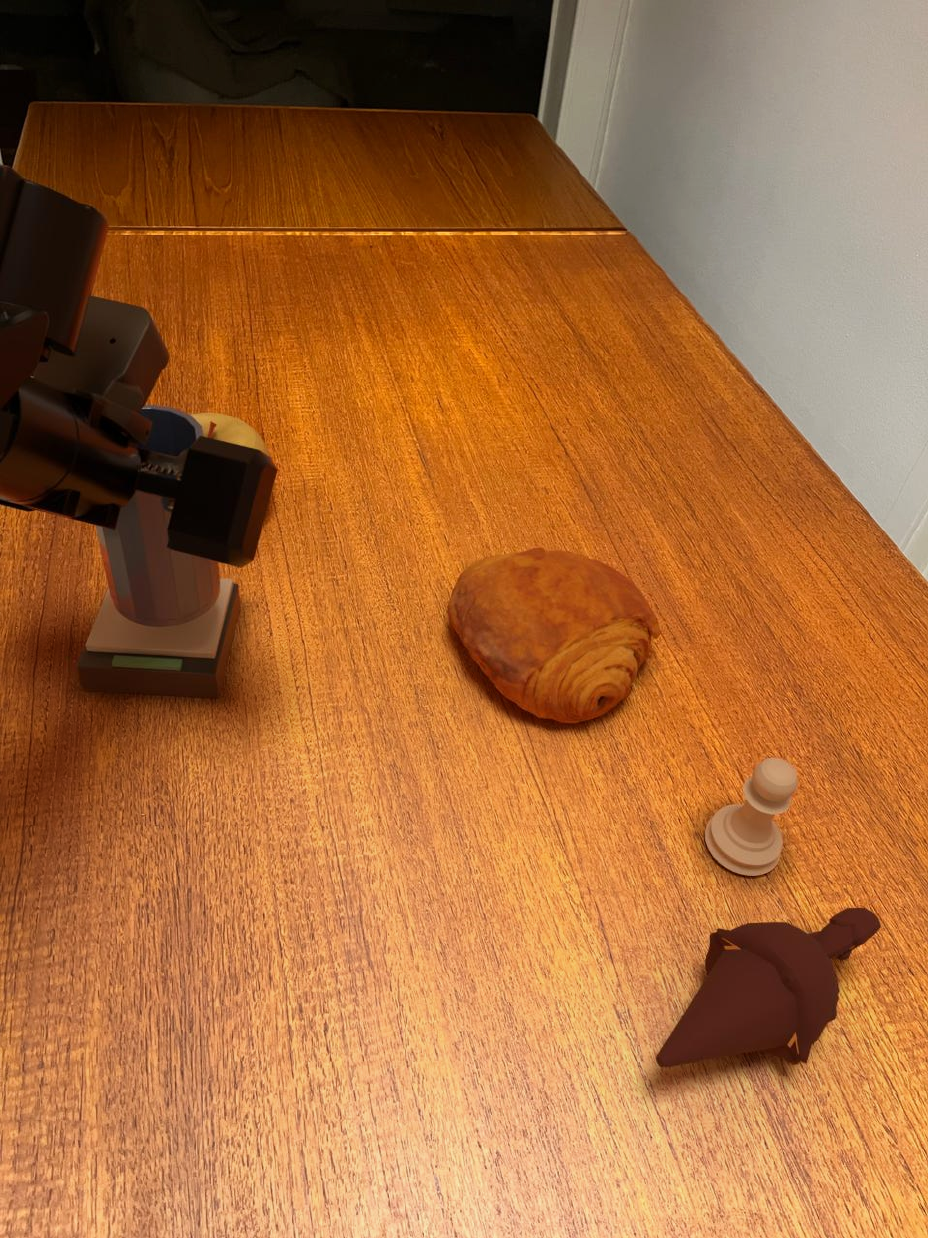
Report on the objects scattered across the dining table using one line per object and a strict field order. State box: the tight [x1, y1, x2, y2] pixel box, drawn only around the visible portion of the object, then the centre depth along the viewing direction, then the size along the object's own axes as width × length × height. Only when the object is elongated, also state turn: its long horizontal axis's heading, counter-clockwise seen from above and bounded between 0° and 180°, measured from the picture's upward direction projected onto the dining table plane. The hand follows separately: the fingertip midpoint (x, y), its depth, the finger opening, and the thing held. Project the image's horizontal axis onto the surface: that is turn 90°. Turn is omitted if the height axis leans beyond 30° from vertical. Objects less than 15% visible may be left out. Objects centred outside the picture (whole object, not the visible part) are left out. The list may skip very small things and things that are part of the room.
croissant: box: [446, 547, 661, 724], centre depth 69 cm, size 14×16×8 cm
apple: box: [188, 412, 273, 460], centre depth 77 cm, size 10×10×8 cm
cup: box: [94, 404, 221, 627], centre depth 60 cm, size 7×7×12 cm
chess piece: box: [704, 757, 799, 877], centre depth 58 cm, size 5×5×8 cm
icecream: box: [655, 907, 882, 1069], centre depth 50 cm, size 7×7×15 cm
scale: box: [76, 577, 242, 699], centre depth 67 cm, size 9×9×3 cm
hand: (164, 498), depth 61 cm, fingers closed on cup, 7 cm apart
